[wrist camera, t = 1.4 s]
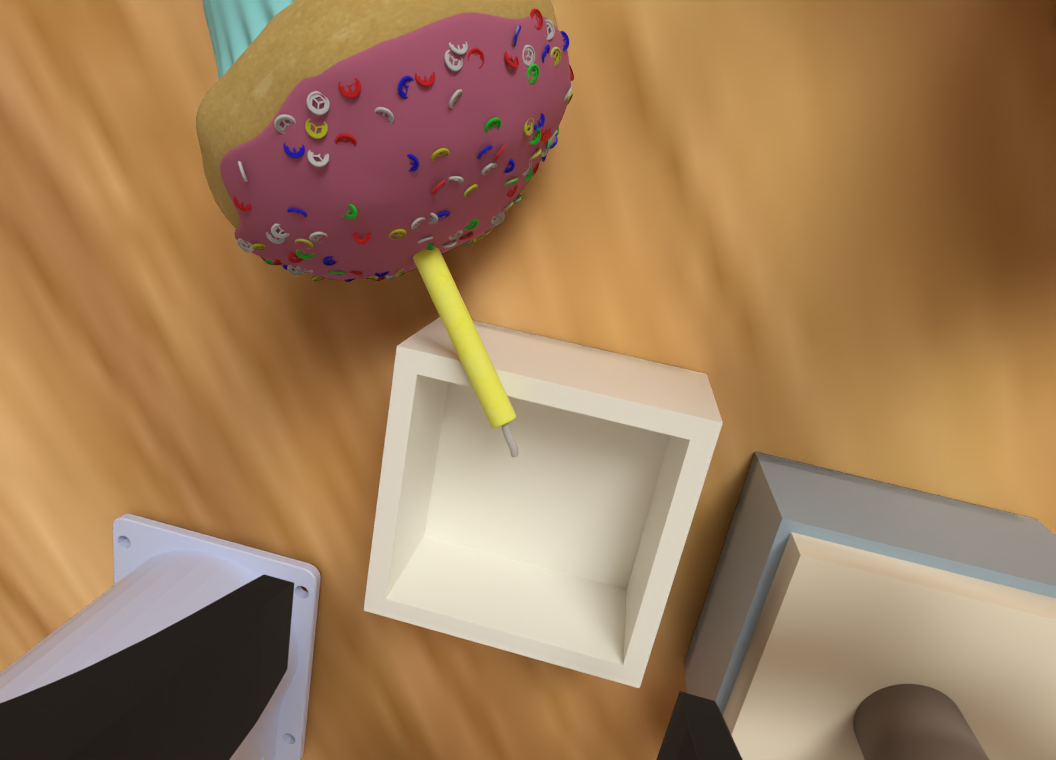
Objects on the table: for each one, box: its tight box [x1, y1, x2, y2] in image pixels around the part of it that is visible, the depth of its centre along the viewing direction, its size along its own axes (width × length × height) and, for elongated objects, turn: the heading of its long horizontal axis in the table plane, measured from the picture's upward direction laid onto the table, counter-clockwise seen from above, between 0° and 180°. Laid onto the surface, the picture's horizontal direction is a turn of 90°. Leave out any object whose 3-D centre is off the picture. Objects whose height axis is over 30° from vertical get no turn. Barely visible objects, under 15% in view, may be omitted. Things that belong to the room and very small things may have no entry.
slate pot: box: [684, 452, 1056, 715], centre depth 18 cm, size 8×8×4 cm
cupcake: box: [196, 0, 574, 457], centre depth 14 cm, size 9×8×12 cm
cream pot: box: [364, 317, 723, 688], centre depth 18 cm, size 8×8×4 cm
